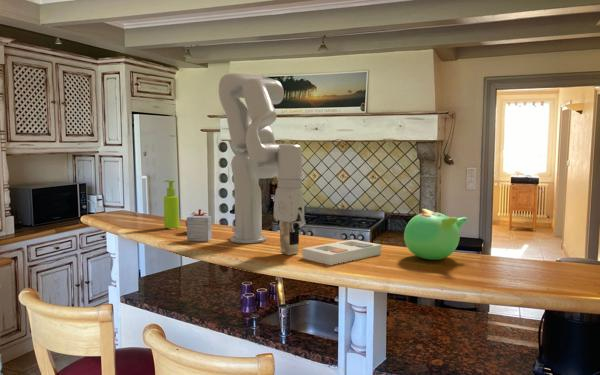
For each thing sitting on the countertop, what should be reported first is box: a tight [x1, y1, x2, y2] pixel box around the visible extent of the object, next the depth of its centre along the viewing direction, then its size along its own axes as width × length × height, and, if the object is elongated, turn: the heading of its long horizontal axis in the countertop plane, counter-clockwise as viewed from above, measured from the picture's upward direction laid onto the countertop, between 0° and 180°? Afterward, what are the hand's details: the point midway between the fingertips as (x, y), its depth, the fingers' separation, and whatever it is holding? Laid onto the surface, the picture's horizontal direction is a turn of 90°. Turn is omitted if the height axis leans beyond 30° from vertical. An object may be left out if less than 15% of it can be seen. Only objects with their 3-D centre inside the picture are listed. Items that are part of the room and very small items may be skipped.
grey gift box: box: [186, 215, 213, 242], centre depth 172 cm, size 8×4×9 cm, turn 84°
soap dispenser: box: [163, 179, 180, 229], centre depth 199 cm, size 6×7×20 cm
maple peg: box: [279, 221, 300, 256], centre depth 149 cm, size 4×4×11 cm
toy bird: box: [403, 208, 469, 261], centre depth 142 cm, size 18×17×15 cm
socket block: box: [301, 239, 382, 266], centre depth 146 cm, size 12×22×3 cm, turn 131°
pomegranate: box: [185, 208, 212, 228], centre depth 188 cm, size 10×10×9 cm
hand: (289, 242), depth 149 cm, fingers closed on maple peg, 4 cm apart
